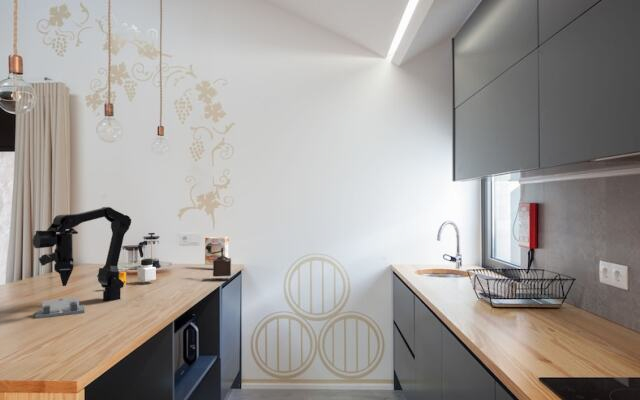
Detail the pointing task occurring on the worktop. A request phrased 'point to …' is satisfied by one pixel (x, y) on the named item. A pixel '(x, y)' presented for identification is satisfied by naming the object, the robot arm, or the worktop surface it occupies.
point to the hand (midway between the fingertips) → (64, 283)
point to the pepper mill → (220, 264)
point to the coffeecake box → (216, 248)
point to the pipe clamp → (122, 277)
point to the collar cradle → (47, 312)
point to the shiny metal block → (60, 304)
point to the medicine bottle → (146, 271)
